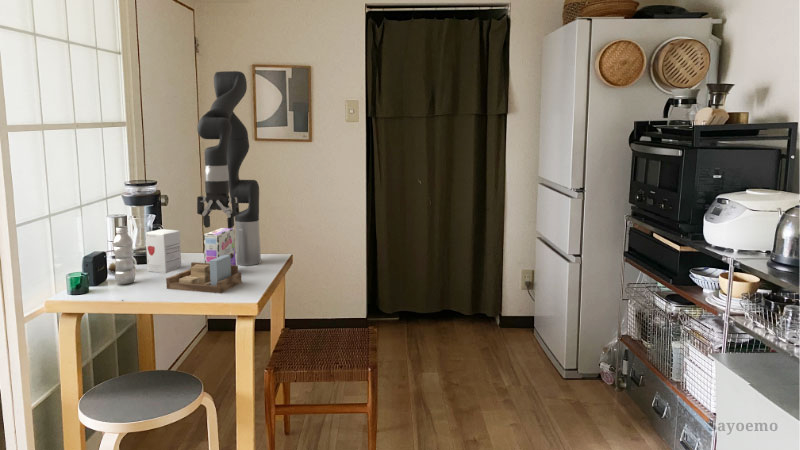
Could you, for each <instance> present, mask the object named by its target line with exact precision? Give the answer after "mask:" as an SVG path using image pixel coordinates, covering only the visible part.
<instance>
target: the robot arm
mask: <svg viewBox="0 0 800 450" xmlns="http://www.w3.org/2000/svg"><path fill="white" fill-rule="evenodd" d="M247 82H248V81H247V78H246V75H245V74H244V72H242V71H236V70H231V71H229V70H228V71H225V70H224V71H216V72H215V73H214V75H213V87H214V93H215V97H216V99H215V100H214V101H213V103H212V105H211V107H210V110H208V111H207V112H206V113H205V114H203V115H202V116H201V117H200V119H198V120H199V121H198V123H197V125H196V126H197V128H196V129H197V130H196V131H197V133H198V136H199V137H200V138H201V139H203V140H219V142H218V144H216V145H214V146H208V147H206V148H205V149H204V187H205V188H204V189H205V190H204V192H205V196H204V195H200V196H199V195H198V196H197V197H196V198H197V199H196V201H197V202H196V205H197V206H196V213H197V214H198V215H201V216H202V221H203V226H204V228H210V227H211V218H210V217H211V216H210V214H211V212H212V211H216V210H217V211H222V212H223V214H224V213H225V215H226V216H227V219H226V221H227V228H228V229H231V228H233V229H234V232H235V255H236V265H238V266H254V265H258V264H260V263H261V259H262V258H261V238H260V186H259V182H258V181H257V180H255V179H240V175H239V174H240V168H241V166H242V165H243V162H244V160H245V159H246V157H247V154H248V153H249V150H250V142H249V141H250V140H249V134H248V133H249V132H248V129H247V128H246V126H245V124H244V123H243V122H242V120H241V119H239V116H237V115H236V113H235V112H234V110H235V108H236V107H237V106H238V105H239V103H240V102H241V101H242V99H243V98H244V97H245V95H246V92H247V89H248V86H247V85H248V84H247ZM205 203H207V204H206V206H205ZM229 203H230V204H231V206H230V205H229ZM239 204H248V207H247V208H246V209H244V210H242V211H241V210H240V205H239Z"/></svg>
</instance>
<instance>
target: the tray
mask: <svg viewBox="0 0 800 450" xmlns="http://www.w3.org/2000/svg"><path fill="white" fill-rule="evenodd" d="M196 264H199V265H210V263H205V262H196V261H195V262H193V261H192V262H191V263H190V267H192V266H194V265H196ZM190 275H191V268H188V269H186V270H184V271H181V272H179V273H176V274H174V275H171V276H169V277H166V278H165V280H166V281H165V282H166V290H178V291H187V292H189V291H190V292H200V293H210V294H211V293H213V294H223V292H226V291H228V290H230V289H232V288H234V287H236V286H238V285H240V284H241V283H242V272H239V265H238V264H236V265H231V276H229V277H227V278H225V279H223V280H221V281H219V282H217V286H212V285H211V281H210V282H208V283H205V284H203V285H200V284H188V283H179V279H180V278H183V277H186V276H190Z"/></svg>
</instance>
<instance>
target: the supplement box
mask: <svg viewBox="0 0 800 450" xmlns="http://www.w3.org/2000/svg"><path fill="white" fill-rule="evenodd" d="M145 247H146V265H147V266H146V267H147V272H151V273H153V272H154V273H158V274H159V273H160V274H168V273H170V272H173V271H175V270H178V269H181V268H182V255H181V249H182V248H181V231H180V230H175V229H167V228H166V229H165V228H160V229H156V230H151V231H146V232H145Z"/></svg>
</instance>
